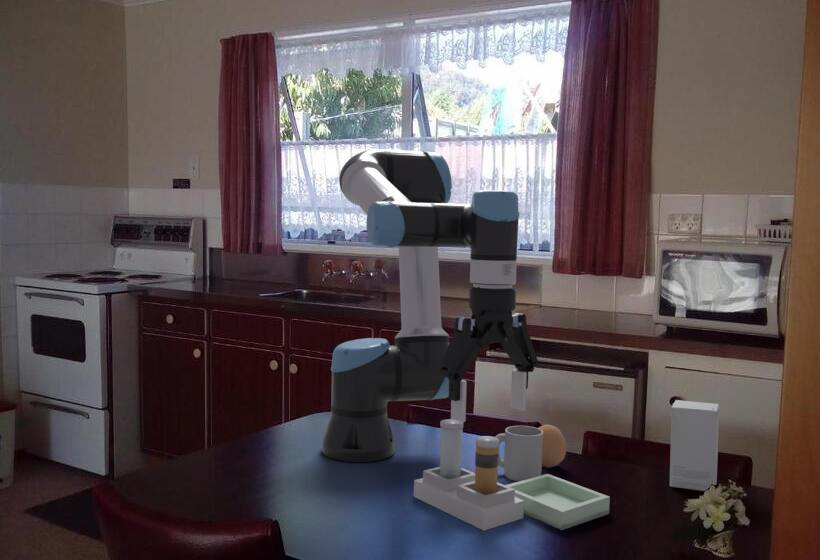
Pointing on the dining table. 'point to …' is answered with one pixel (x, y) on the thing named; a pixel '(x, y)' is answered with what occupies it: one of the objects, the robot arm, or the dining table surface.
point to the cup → (521, 452)
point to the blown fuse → (486, 464)
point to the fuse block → (464, 487)
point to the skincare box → (694, 445)
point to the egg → (552, 446)
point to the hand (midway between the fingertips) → (489, 414)
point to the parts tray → (560, 501)
